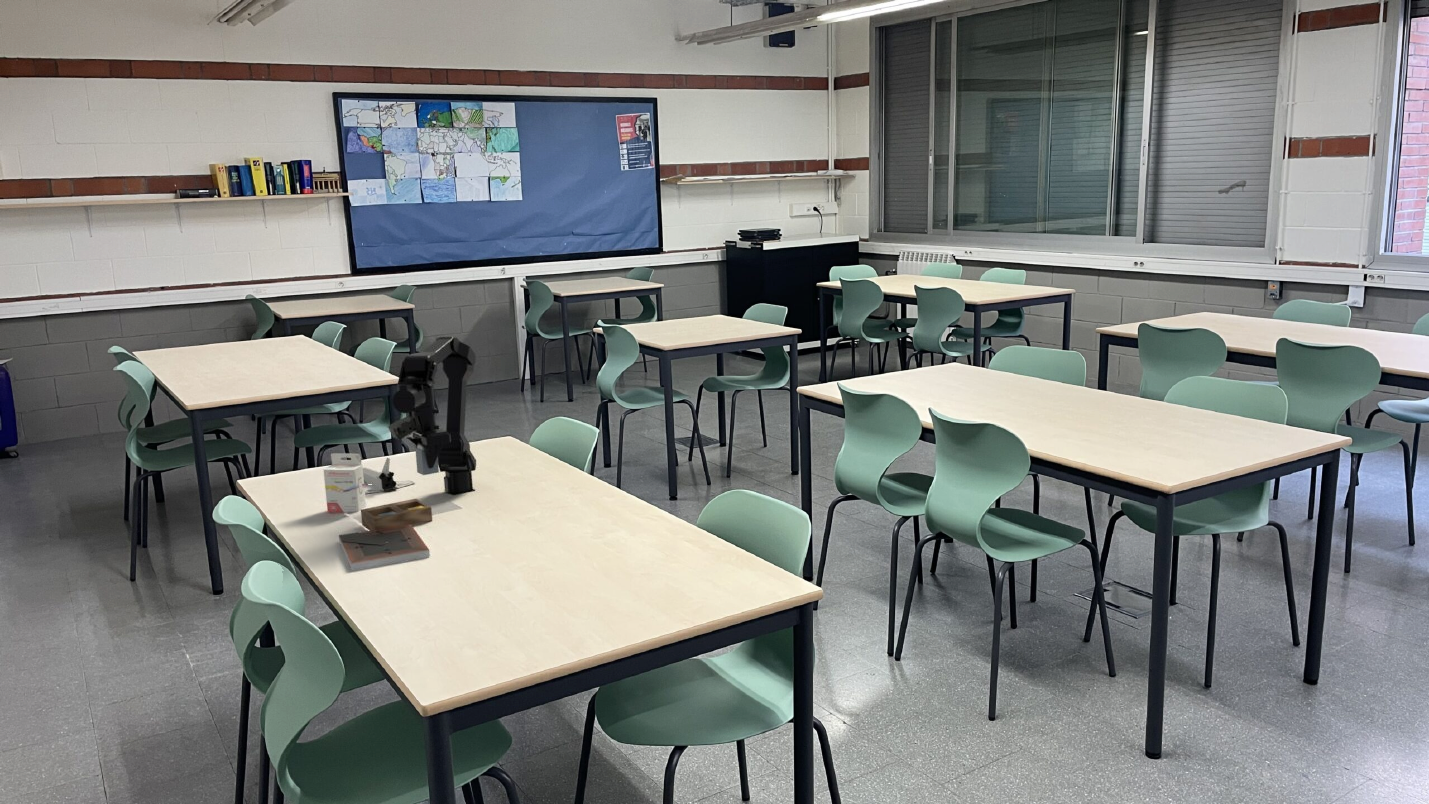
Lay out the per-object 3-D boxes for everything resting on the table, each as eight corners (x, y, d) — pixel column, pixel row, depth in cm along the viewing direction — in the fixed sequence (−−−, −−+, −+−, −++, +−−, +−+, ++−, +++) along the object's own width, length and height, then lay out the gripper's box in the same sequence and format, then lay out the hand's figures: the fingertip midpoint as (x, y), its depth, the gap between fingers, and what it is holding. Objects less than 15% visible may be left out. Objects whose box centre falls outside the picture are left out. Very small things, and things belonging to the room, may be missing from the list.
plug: (432, 469, 259) (430, 442, 257) (438, 472, 256) (436, 445, 254) (417, 472, 256) (415, 445, 255) (423, 475, 253) (421, 447, 252)
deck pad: (450, 503, 267) (450, 501, 267) (462, 510, 260) (462, 508, 260) (420, 509, 262) (420, 507, 262) (432, 516, 256) (432, 514, 256)
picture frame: (339, 545, 239) (352, 573, 220) (338, 534, 238) (351, 562, 219) (411, 533, 246) (430, 559, 227) (410, 523, 245) (429, 548, 227)
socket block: (417, 513, 259) (416, 497, 258) (432, 522, 251) (431, 506, 250) (362, 525, 250) (360, 508, 250) (376, 535, 243) (374, 518, 242)
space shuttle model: (386, 471, 303) (383, 438, 301) (420, 488, 283) (416, 453, 281) (334, 481, 293) (330, 447, 291) (365, 499, 274) (361, 463, 272)
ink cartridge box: (326, 513, 261) (320, 457, 258) (335, 507, 266) (329, 453, 263) (358, 513, 260) (353, 457, 257) (367, 507, 265) (361, 452, 262)
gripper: (377, 404, 255) (382, 465, 258) (404, 415, 241) (410, 479, 243) (420, 398, 262) (425, 458, 265) (449, 408, 247) (454, 471, 250)
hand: (427, 466), depth 256 cm, fingers closed on plug, 4 cm apart
